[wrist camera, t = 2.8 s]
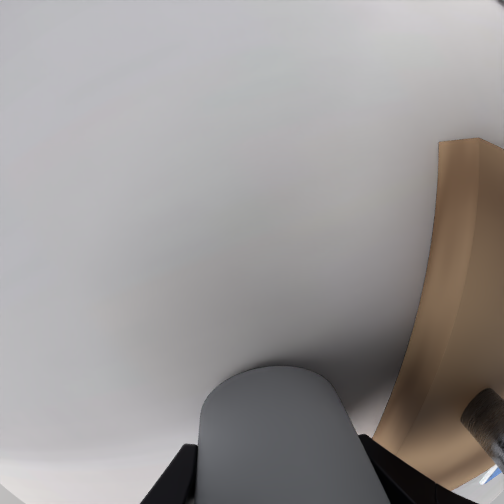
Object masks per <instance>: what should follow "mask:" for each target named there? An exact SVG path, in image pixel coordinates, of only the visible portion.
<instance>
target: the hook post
mask: <svg viewBox="0 0 504 504" xmlns="http://www.w3.org/2000/svg"><path fill="white" fill-rule="evenodd" d="M460 421H461V423H462V424H463V425H464V427H465V428H466V429H467V430H468V431H469V432H470V434H471V435H472V436H473V437H474V438H475V440H476V441H477V442H478V443H479V444H480V446H481V447H482V448H483V449H484V450H485V452H486V453H487V454H488V455H489V457H490V458H491V459H492V460H493V461H494V463H495V464H496V465H497V466H498V468H499V469H500V470H501V471H502V473H503V474H504V399H503V398H501V397H500V396H499V395H498V394H497V393H496V392H495V391H494V390H493V389H492V388H486V389H484V390H483V391H481V392H480V393H479V394H478V395H476V396H475V397H474V398H473V400H472V401H471V402H470V403H469V404H468V406H467V407H466V408H465V410H464V412H463V413H462V416H461V419H460Z"/></svg>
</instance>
